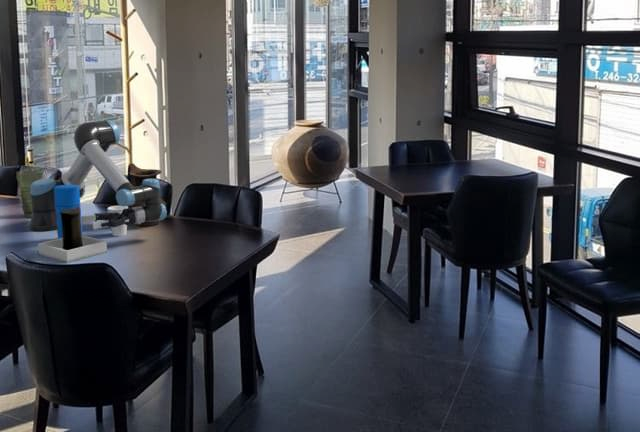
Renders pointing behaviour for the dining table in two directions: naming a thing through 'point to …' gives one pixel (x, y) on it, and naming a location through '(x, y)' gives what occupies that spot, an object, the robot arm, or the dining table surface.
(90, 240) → the white bin
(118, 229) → the foam cup
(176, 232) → the dining table surface
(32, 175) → the green ribbed vase
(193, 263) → the dining table surface
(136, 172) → the jug
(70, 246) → the container
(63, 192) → the thermos
